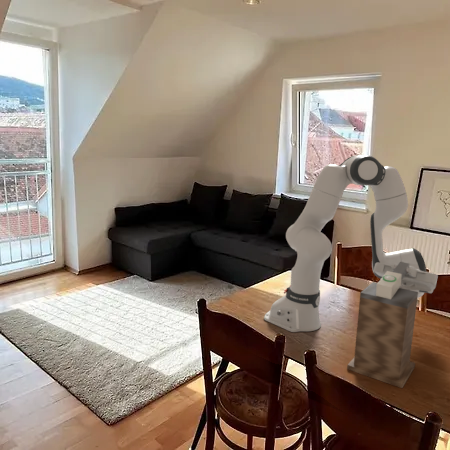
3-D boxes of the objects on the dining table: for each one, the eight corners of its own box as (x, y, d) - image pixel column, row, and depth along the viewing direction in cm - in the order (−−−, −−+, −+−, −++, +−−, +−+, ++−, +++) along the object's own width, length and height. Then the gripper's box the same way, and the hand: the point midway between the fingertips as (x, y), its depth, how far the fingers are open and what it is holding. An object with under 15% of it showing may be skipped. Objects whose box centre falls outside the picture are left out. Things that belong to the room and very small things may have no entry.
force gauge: (376, 295, 130) (376, 282, 129) (397, 267, 147) (398, 256, 145) (390, 299, 128) (391, 286, 126) (411, 270, 144) (412, 258, 143)
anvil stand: (347, 369, 138) (353, 292, 133) (363, 350, 150) (370, 279, 144) (402, 388, 129) (412, 306, 123) (414, 366, 140) (424, 291, 135)
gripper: (380, 264, 159) (372, 253, 148) (441, 276, 148) (436, 265, 137) (376, 280, 158) (367, 270, 147) (437, 294, 146) (432, 284, 135)
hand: (401, 268), depth 142 cm, fingers closed on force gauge, 3 cm apart
